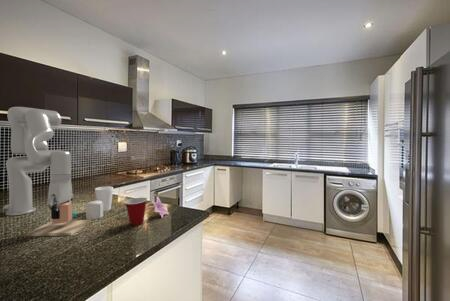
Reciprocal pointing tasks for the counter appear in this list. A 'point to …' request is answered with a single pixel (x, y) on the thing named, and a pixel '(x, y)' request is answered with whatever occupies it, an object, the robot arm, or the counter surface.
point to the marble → (74, 214)
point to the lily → (160, 207)
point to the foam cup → (104, 196)
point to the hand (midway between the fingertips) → (61, 215)
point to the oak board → (59, 228)
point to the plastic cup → (136, 210)
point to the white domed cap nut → (94, 210)
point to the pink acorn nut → (64, 213)
